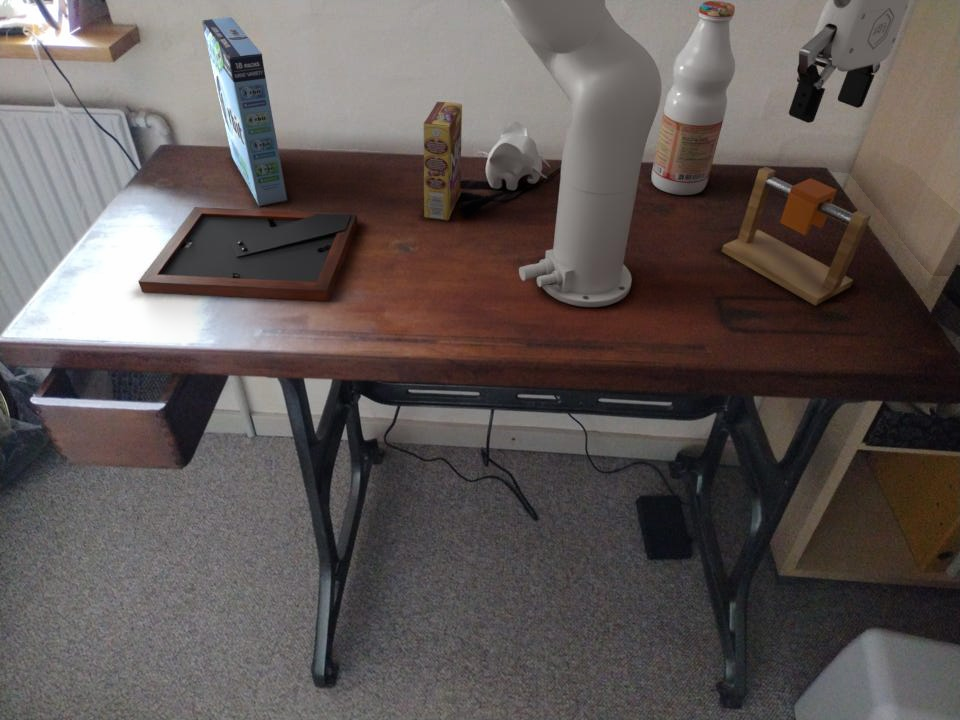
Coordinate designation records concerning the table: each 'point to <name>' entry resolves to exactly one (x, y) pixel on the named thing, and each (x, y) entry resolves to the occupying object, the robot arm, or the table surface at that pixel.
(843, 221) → the rail stand
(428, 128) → the candy box
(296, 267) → the picture frame
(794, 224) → the clip
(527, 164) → the elephant figurine
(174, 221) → the table surface
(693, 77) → the fruit juice
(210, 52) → the gum box
